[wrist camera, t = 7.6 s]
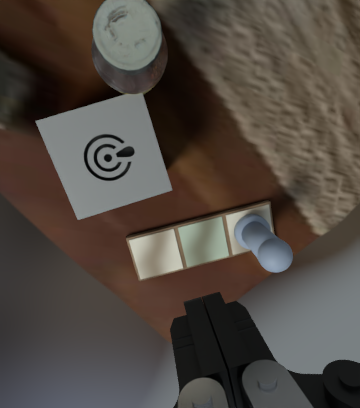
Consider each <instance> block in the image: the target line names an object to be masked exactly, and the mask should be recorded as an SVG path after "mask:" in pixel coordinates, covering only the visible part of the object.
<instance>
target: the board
mask: <svg viewBox="0 0 360 408" xmlns="http://www.w3.org/2000/svg"><path fill="white" fill-rule="evenodd" d="M248 214H257V215H260V216H261V217H263V218H264V219H265V220H266V221H267V222H268V223H269V225H270V229H271V232H272V233H273V234H274V227H273V219H272V211H271V204H270V201H269V200H266V201H262V202H259V203H255V204H251V205H247V206H243V207H239V208H235V209H231V210H227V211H223V212H220V213H216V214H212V215H208V216H204V217H200V218H196V219H192V220H188V221H184V222H181V223H177V224H173V225H169V226H165V227H161V228H157V229H153V230H149V231H145V232H142V233H138V234H134V235H130V236H126V240H127V243H128V247H129V250H130V253H131V256H132V260H133V263H134V266H135V270H136V273H137V276H138V279H139V281H142V280H146V279H150V278H154V277H157V276H161V275H165V274H169V273H173V272H176V271H180V270H184V269H188V268H191V267H195V266H199V265H203V264H206V263H210V262H214V261H218V260H221V259H225V258H229V257H233V256H236V255H240V254H244V253H248V252H251V250H250V249H246V248H244V247H242V246H241V245H240V244H239V243H238V241H237V240H236V238H235V236H234V228H235V225H236V223H237V222H238V220H239V219H240V218H242V217H243V216H245V215H248Z"/></svg>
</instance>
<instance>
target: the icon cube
mask: <svg viewBox="0 0 360 408" xmlns="http://www.w3.org/2000/svg"><path fill="white" fill-rule="evenodd" d="M36 124H37V126H38V128H39V131H40V133H41V135H42V138H43V140H44V142H45V145H46V147H47V149H48V152H49V154H50V156H51V159H52V161H53V163H54V165H55V168H56V170H57V172H58V175H59V177H60V179H61V182H62V184H63V186H64V189H65V191H66V193H67V196H68V198H69V200H70V203H71V205H72V207H73V210H74V212H75V214H76V217H77V219H78V220H79V219H83V218H86V217H89V216H92V215H95V214H98V213H102V212H105V211H108V210H111V209H114V208H117V207H121V206H124V205H127V204H130V203H133V202H136V201H140V200H143V199H146V198H149V197H152V196H156V195H159V194H162V193H165V192H168V191H171V190H172V188H171V184H170V181H169V178H168V175H167V171H166V168H165V165H164V162H163V158H162V155H161V152H160V148H159V145H158V142H157V139H156V135H155V132H154V129H153V126H152V122H151V119H150V116H149V113H148V109H147V106H146V103H145V100H144V96H143V93H140V94H125V95H122V96H118V97H115V98H112V99H108V100H105V101H102V102H98V103H95V104H92V105H88V106H85V107H82V108H78V109H75V110H72V111H68V112H65V113H61V114H58V115H55V116H51V117H48V118H45V119H41V120H38V121H36Z"/></svg>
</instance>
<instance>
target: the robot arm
mask: <svg viewBox="0 0 360 408" xmlns="http://www.w3.org/2000/svg"><path fill="white" fill-rule="evenodd" d="M202 300H203V302H202ZM184 306H185V310H186V314H187V315H185V316H181V317H178V318H174V320H173V323H172V325H171V328H170V332H171V338H172V344H173V350H174V356H175V363H176V369H177V376H178V382H179V397H178V400H177V402H176V404H175V406H174V408H360V363H357V362H354V361H350V360H337V361H333V362H331V363H329V364H328V365H327V366H326V367H325V368H324V370H323V374H300V373H295V372H292V371H289V370H287V369H286V368H285V367H284V366H282V365H281V364H279V363H278V362H277V361H276V360H275V358H274V357H273V355H272V353H271V351H270V350H269V348H268V346H267V344H266V343H265V341H264V339H263V337H262V336H261V334H260V332H259V331H258V329H257V327H256V325H255V323H254V322H253V320H252V319H251V316H250V315H249V313H248V311H247V309H246V308H245V307H244V306H243V305H241V304H240V303H238V302H237V301H234V302H230V303H227V304H225V302H224V300H223V298H222V296H221V294H220V292H217V293H213V294H210V295H206V296H202V299H201V297H199V298H196V299H192V300H188V301H185V302H184Z"/></svg>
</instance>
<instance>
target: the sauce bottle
mask: <svg viewBox="0 0 360 408" xmlns="http://www.w3.org/2000/svg"><path fill="white" fill-rule="evenodd" d="M92 58H93V62H94V65H95V68H96V70H97V71H98V73H99V75H100V76H101V78H102V79H103V80H104V81H105V82H106V83H107V84H108V85H109V86H111V87H112V88H113V89H115V90H117V91H119V92H120V93H122V94H124V95H125V94H140V93H143V94H145V93H147V92H148V91H150V90H151V89H152V88H153V87H154V86H155V85H156V84H157V83H158V82H159V80H160V79H161V77H162V75H163V73H164V70H165V67H166V63H167V59H168V50H167V44H166V40H165V37H164V34H163V32H162V27H161V22H160V19H159V17H158V15H157V13H156V11H155V10H154V9H153V7H152V6H151V5H150V4H149V3H148V2H147V1H145V0H105V1H104V2H103V3H102V4H101V6H100V7H99V8H98V10H97V11H96V14H95V17H94V21H93V41H92Z"/></svg>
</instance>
